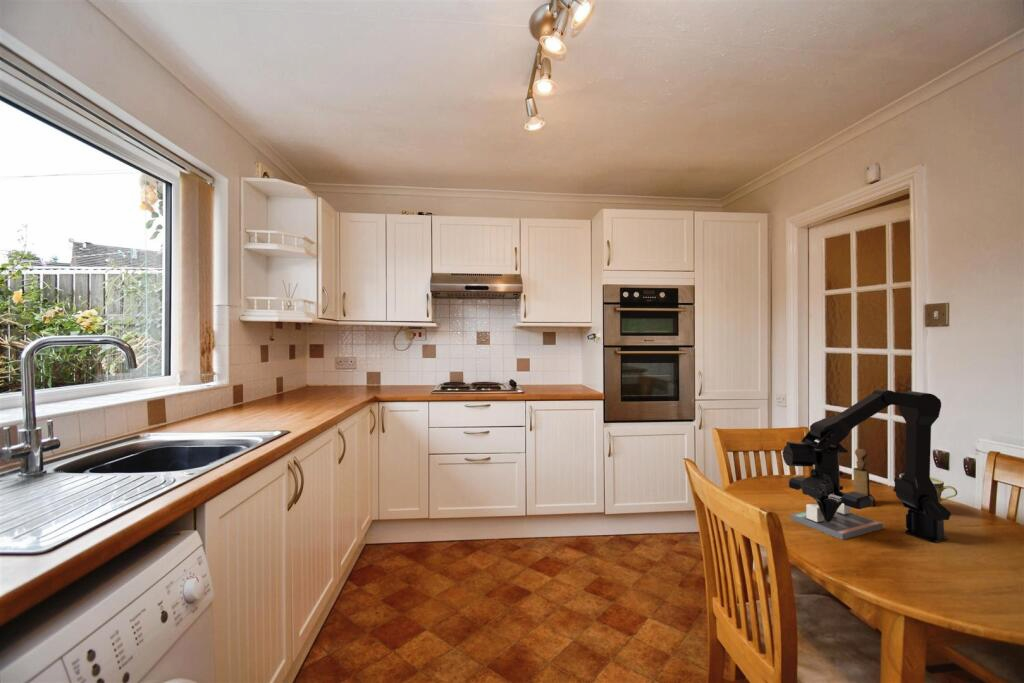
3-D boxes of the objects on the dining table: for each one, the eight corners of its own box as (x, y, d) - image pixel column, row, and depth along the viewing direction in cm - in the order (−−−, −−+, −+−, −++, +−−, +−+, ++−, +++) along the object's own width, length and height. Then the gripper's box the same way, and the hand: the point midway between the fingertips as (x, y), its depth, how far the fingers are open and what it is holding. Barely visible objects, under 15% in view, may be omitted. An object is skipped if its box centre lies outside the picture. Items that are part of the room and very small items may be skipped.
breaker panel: (882, 528, 115) (882, 523, 115) (842, 539, 109) (842, 534, 109) (829, 510, 128) (829, 505, 128) (790, 519, 122) (790, 514, 122)
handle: (824, 520, 117) (823, 506, 117) (817, 522, 116) (816, 508, 116) (813, 516, 119) (813, 503, 120) (806, 518, 118) (806, 504, 118)
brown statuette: (845, 501, 135) (843, 447, 136) (855, 497, 138) (854, 445, 138) (869, 508, 129) (867, 452, 130) (879, 504, 132) (878, 450, 132)
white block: (850, 512, 122) (850, 499, 122) (844, 514, 121) (844, 501, 121) (839, 509, 124) (839, 496, 124) (833, 510, 123) (833, 497, 123)
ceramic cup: (894, 507, 130) (893, 476, 130) (907, 501, 134) (906, 471, 135) (951, 522, 118) (950, 488, 118) (964, 515, 123) (963, 483, 123)
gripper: (775, 461, 120) (776, 513, 120) (845, 480, 103) (847, 541, 103) (800, 457, 124) (801, 507, 124) (872, 475, 107) (873, 533, 107)
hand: (828, 521), depth 114 cm, fingers closed
